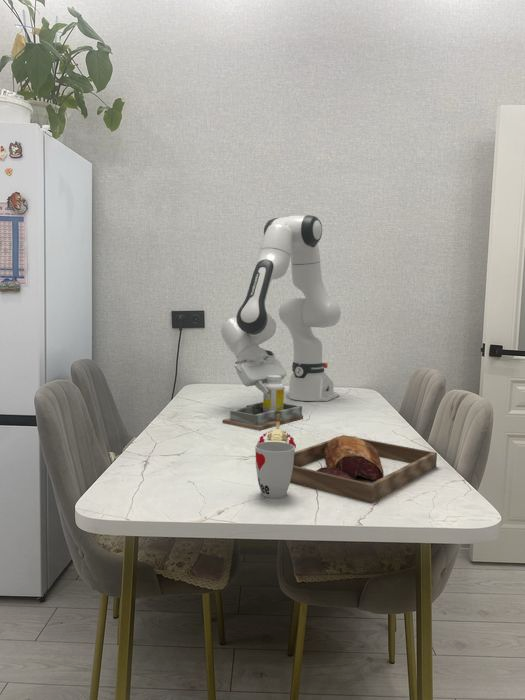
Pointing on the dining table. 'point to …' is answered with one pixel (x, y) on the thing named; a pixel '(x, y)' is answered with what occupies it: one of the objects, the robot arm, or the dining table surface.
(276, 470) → the cup
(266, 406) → the supplement bottle
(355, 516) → the dining table surface
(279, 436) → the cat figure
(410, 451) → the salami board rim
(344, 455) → the cured meat
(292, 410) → the keyhole dock
